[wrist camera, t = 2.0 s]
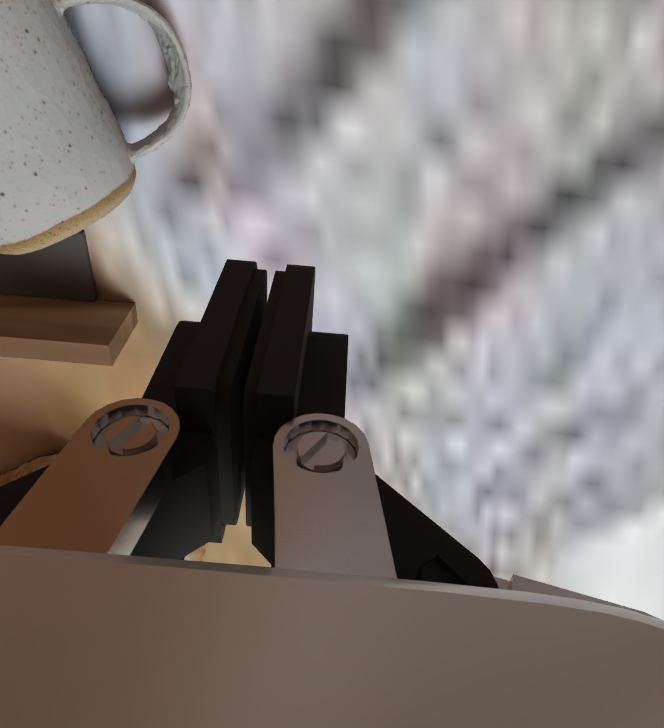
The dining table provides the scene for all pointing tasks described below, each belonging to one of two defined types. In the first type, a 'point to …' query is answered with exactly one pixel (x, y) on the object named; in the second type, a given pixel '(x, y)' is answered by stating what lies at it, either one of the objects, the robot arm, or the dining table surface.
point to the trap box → (59, 307)
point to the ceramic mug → (66, 125)
